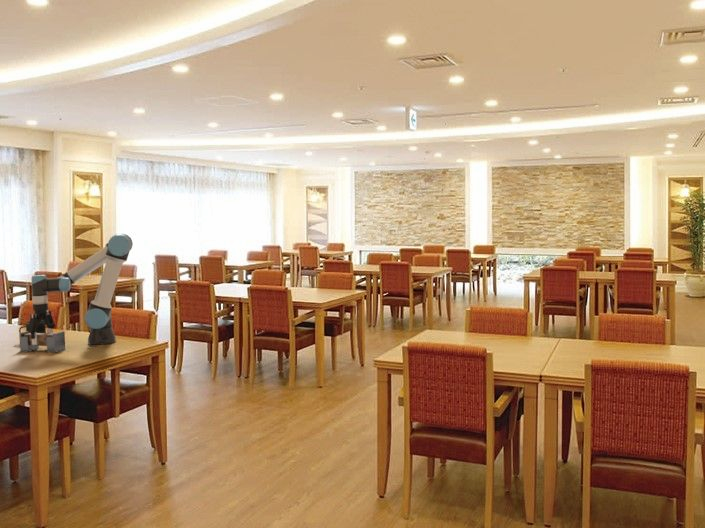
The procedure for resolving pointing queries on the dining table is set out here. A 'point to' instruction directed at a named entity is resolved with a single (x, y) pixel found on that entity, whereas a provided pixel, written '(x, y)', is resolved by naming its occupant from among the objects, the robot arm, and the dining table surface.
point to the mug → (40, 328)
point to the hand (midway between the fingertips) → (42, 342)
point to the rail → (39, 338)
